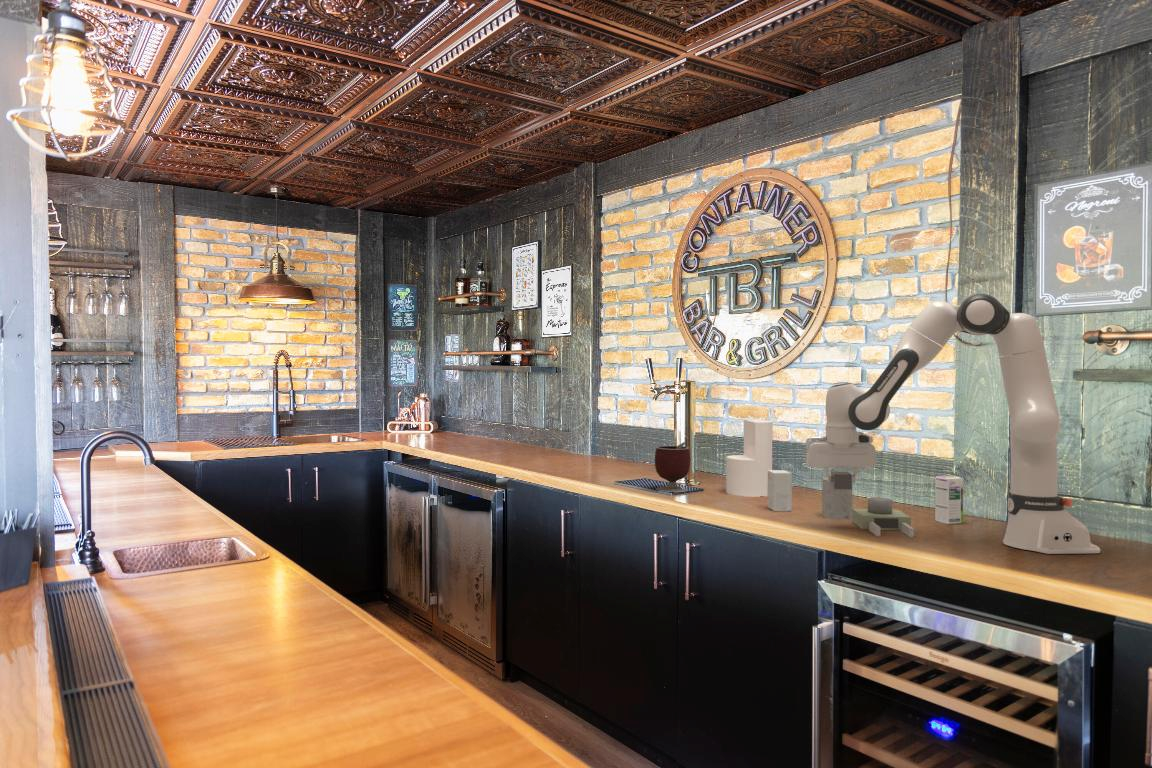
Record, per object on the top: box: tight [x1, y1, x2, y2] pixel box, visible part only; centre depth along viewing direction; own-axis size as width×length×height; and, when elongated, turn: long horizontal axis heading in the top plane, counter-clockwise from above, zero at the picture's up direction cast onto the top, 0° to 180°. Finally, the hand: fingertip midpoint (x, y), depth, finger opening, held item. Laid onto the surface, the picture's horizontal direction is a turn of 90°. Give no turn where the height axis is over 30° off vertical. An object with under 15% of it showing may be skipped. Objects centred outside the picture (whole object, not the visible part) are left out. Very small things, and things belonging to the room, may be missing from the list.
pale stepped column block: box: [725, 419, 774, 498], centre depth 293 cm, size 17×17×28 cm
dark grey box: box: [830, 470, 853, 490], centre depth 230 cm, size 5×7×4 cm
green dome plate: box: [851, 496, 915, 538], centre depth 228 cm, size 14×21×8 cm, turn 173°
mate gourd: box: [654, 441, 691, 492], centre depth 298 cm, size 16×14×20 cm
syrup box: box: [934, 475, 964, 525], centre depth 238 cm, size 6×6×14 cm
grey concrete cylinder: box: [821, 476, 854, 520], centre depth 247 cm, size 10×10×12 cm
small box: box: [766, 469, 793, 512], centre depth 259 cm, size 8×6×13 cm
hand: (841, 482), depth 230 cm, fingers closed on dark grey box, 5 cm apart
